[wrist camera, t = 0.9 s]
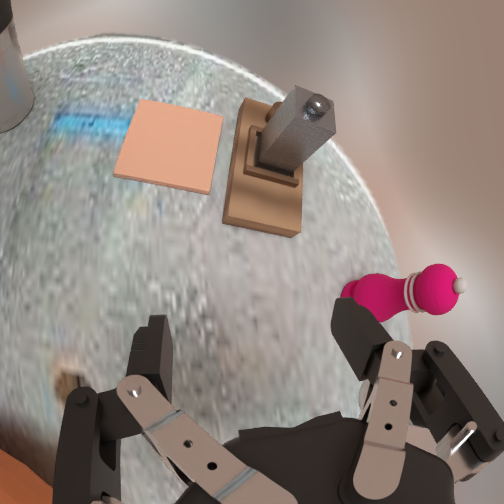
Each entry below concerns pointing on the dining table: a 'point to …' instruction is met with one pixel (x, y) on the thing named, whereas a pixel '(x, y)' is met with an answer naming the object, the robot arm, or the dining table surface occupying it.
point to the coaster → (170, 147)
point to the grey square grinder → (295, 131)
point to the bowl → (21, 483)
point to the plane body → (260, 181)
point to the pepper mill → (408, 292)
